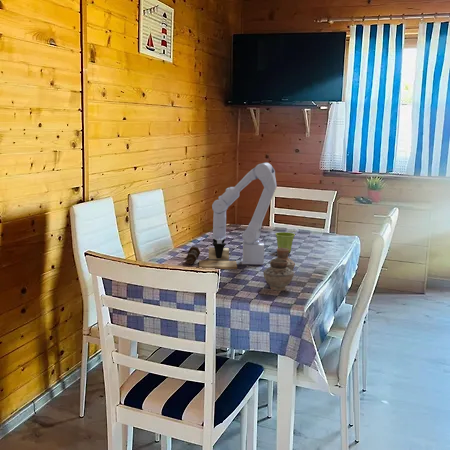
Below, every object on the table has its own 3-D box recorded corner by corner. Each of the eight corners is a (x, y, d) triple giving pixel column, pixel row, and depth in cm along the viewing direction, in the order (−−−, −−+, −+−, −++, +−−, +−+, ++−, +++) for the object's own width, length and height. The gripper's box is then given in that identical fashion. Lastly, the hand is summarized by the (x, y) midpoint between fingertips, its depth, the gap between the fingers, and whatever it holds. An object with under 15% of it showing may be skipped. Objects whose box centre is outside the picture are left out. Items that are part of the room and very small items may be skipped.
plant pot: (293, 254, 258) (294, 236, 257) (273, 253, 260) (274, 235, 259) (294, 250, 267) (295, 232, 266) (275, 248, 269) (276, 231, 268)
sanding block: (228, 258, 247) (228, 247, 246) (228, 261, 242) (229, 250, 241) (208, 258, 247) (208, 247, 246) (208, 260, 242) (208, 249, 241)
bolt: (188, 269, 233) (192, 260, 248) (198, 264, 232) (202, 255, 247) (181, 258, 232) (186, 249, 247) (191, 252, 231) (196, 244, 246)
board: (235, 263, 239) (236, 261, 238) (237, 269, 229) (237, 266, 228) (199, 262, 238) (199, 260, 238) (198, 268, 228) (198, 265, 228)
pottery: (296, 276, 221) (297, 247, 219) (292, 294, 197) (293, 262, 195) (268, 274, 223) (269, 245, 221) (260, 291, 199) (262, 259, 197)
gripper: (210, 223, 249) (209, 252, 251) (210, 229, 235) (209, 259, 237) (225, 223, 249) (225, 252, 252) (226, 229, 235) (225, 260, 237)
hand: (218, 256), depth 244 cm, fingers open, 6 cm apart
